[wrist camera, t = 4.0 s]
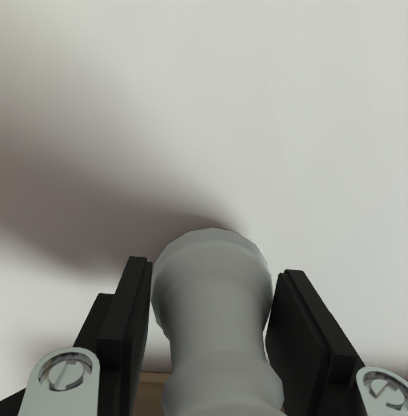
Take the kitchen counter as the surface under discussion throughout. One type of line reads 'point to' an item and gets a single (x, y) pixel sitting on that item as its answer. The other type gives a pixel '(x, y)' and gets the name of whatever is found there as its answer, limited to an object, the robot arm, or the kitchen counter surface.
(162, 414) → the rack
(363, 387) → the robot arm
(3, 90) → the kitchen counter surface
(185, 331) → the rook chess piece
